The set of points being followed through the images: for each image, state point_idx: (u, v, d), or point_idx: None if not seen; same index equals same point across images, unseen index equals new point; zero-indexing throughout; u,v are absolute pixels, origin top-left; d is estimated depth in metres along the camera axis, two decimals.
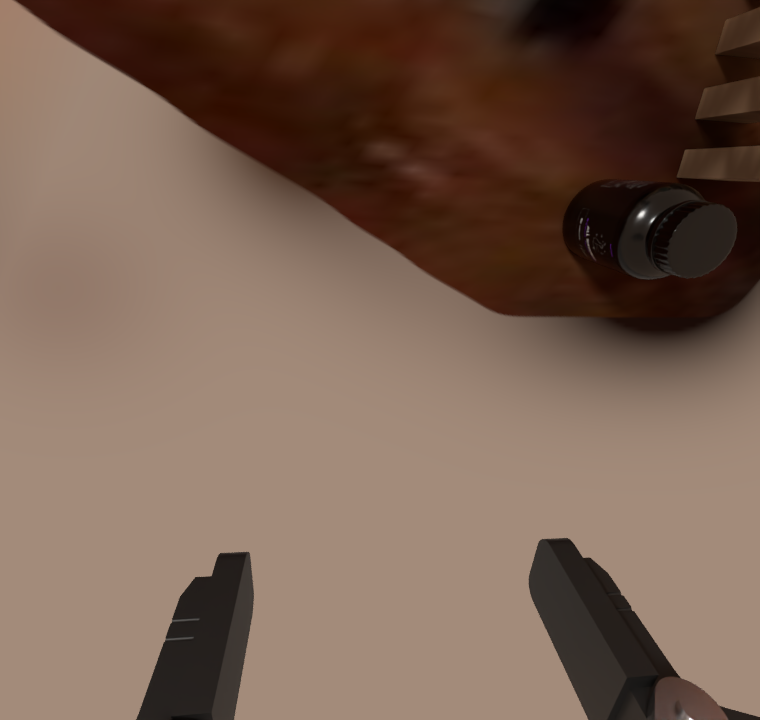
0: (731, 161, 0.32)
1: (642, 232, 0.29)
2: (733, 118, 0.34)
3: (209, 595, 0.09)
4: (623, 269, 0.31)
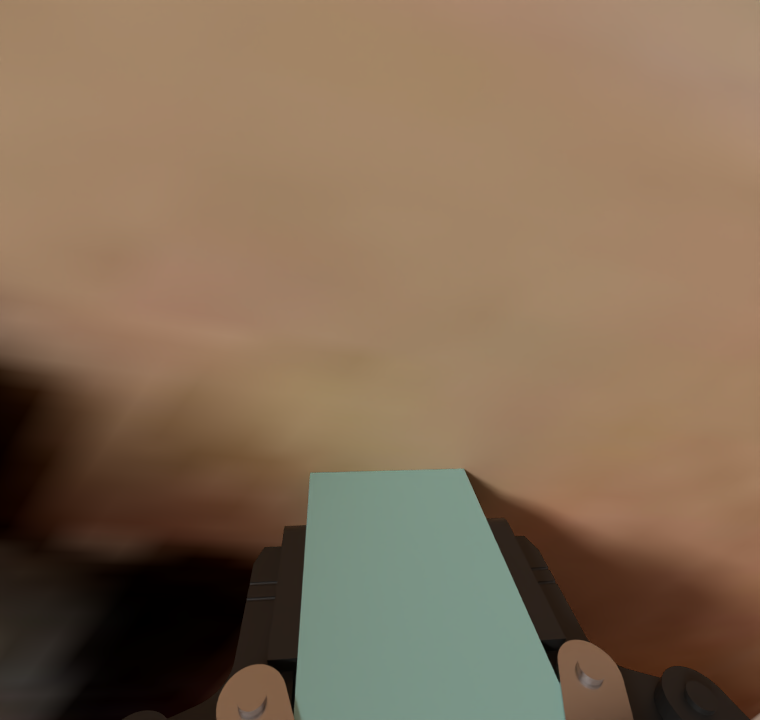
0: None
1: None
2: None
3: (282, 561, 0.10)
4: None
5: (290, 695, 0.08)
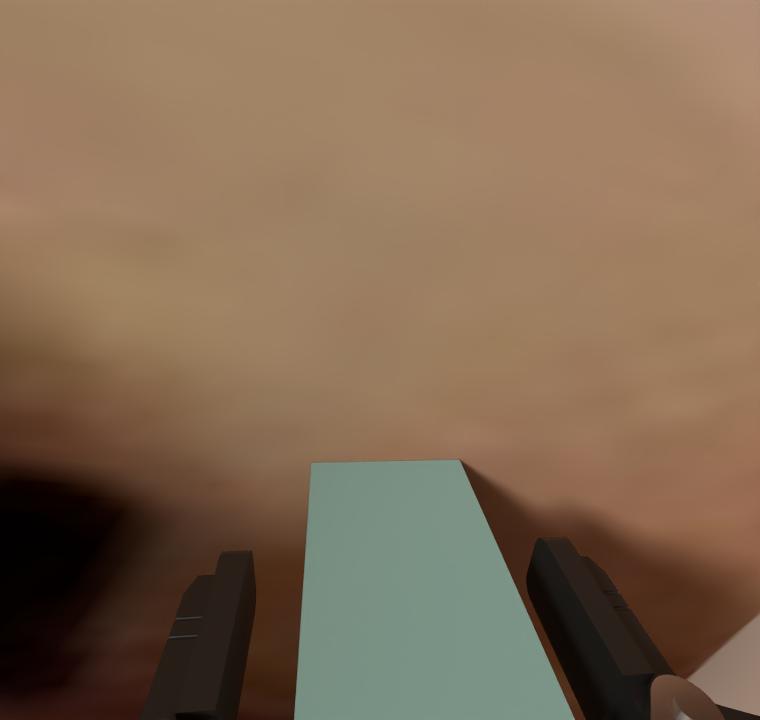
0: None
1: None
2: None
3: (212, 593, 0.09)
4: None
5: None
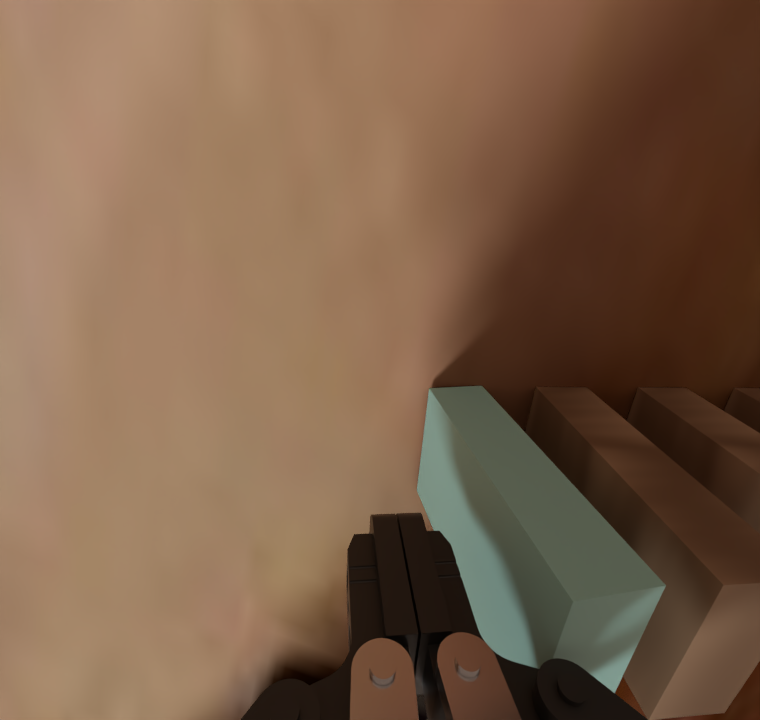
0: None
1: None
2: None
3: (378, 547, 0.11)
4: None
5: None
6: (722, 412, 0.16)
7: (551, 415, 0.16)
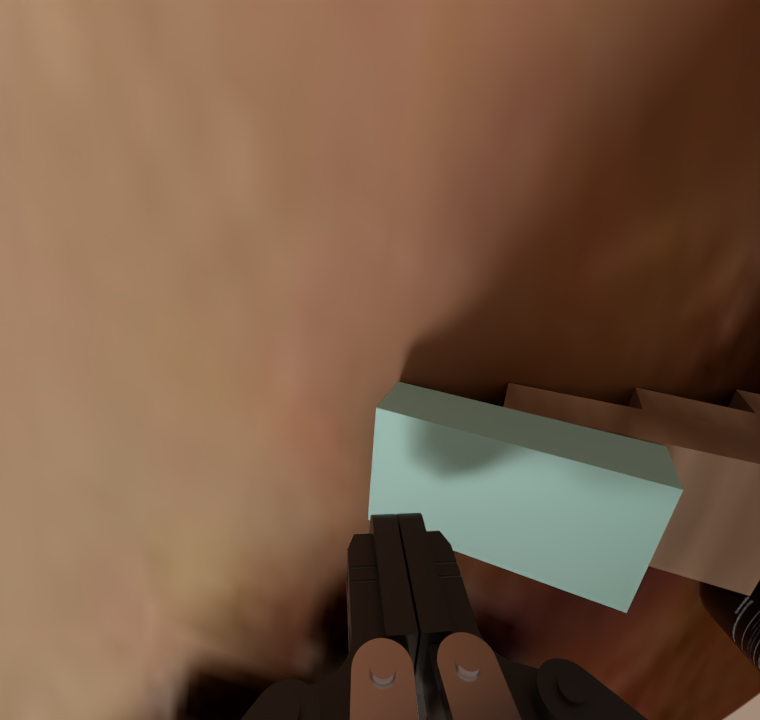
0: None
1: None
2: None
3: (378, 547, 0.11)
4: None
5: None
6: (692, 401, 0.17)
7: None
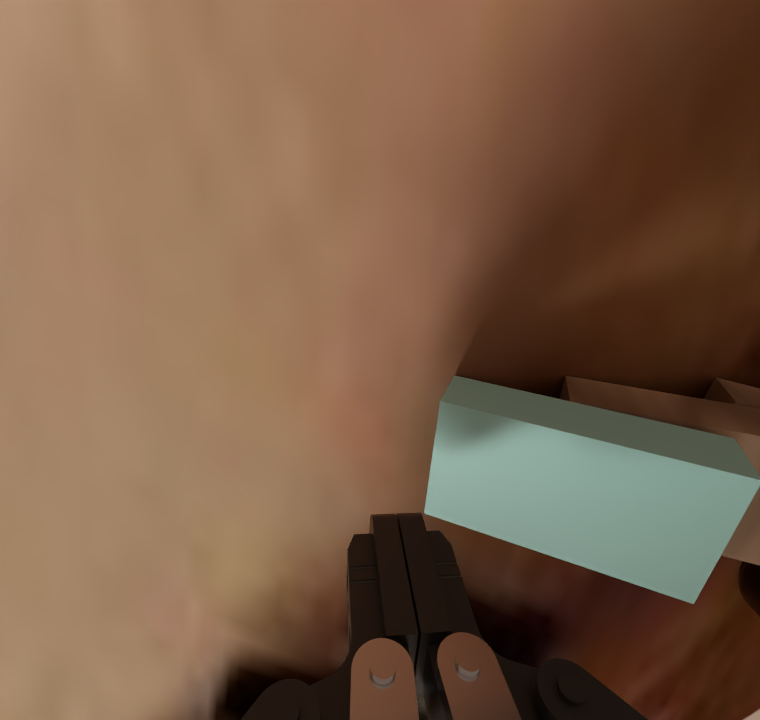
0: None
1: None
2: None
3: (378, 547, 0.11)
4: None
5: None
6: None
7: None
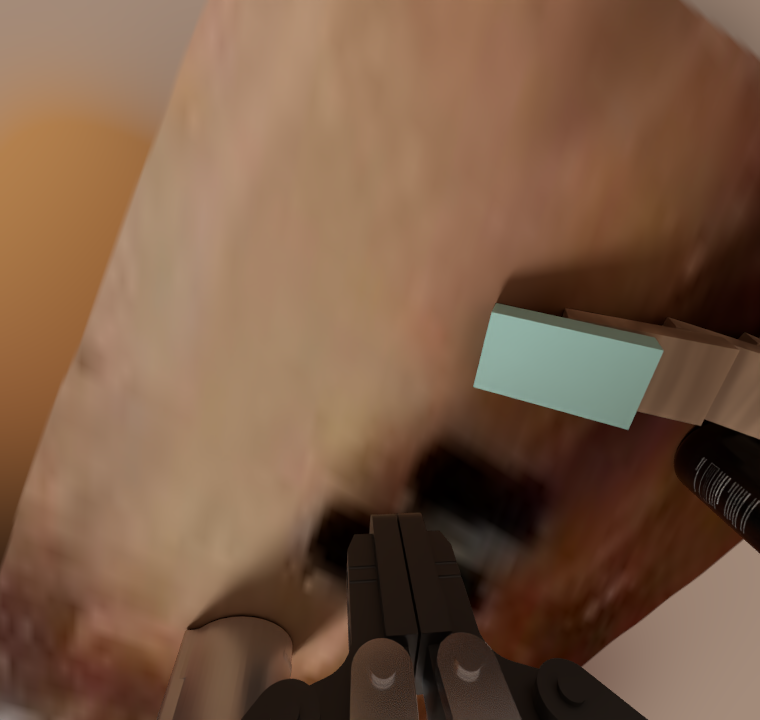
0: None
1: None
2: None
3: (378, 547, 0.11)
4: None
5: None
6: (700, 327, 0.27)
7: None
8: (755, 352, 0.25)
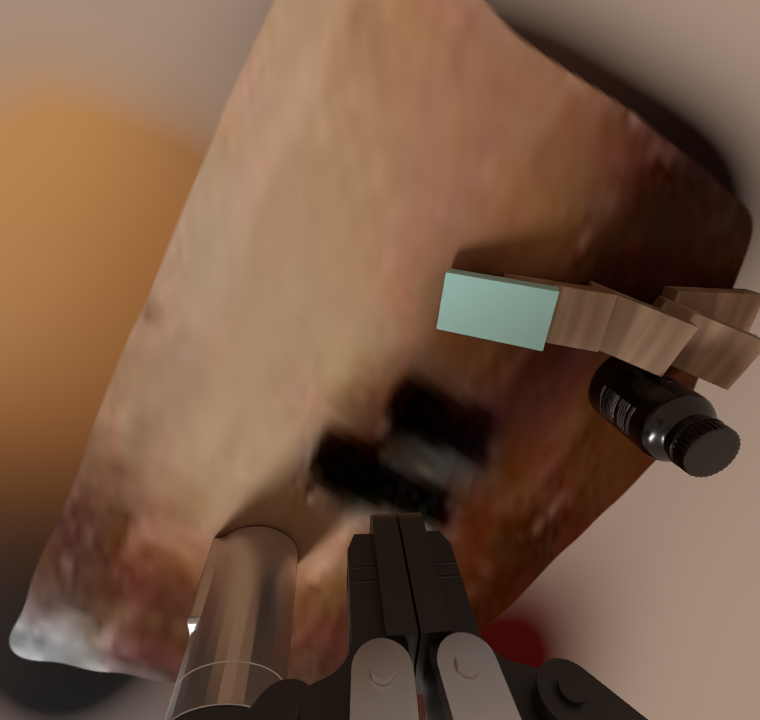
0: None
1: None
2: None
3: (378, 547, 0.11)
4: None
5: None
6: (611, 289, 0.38)
7: None
8: (643, 305, 0.36)
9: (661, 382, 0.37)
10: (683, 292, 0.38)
